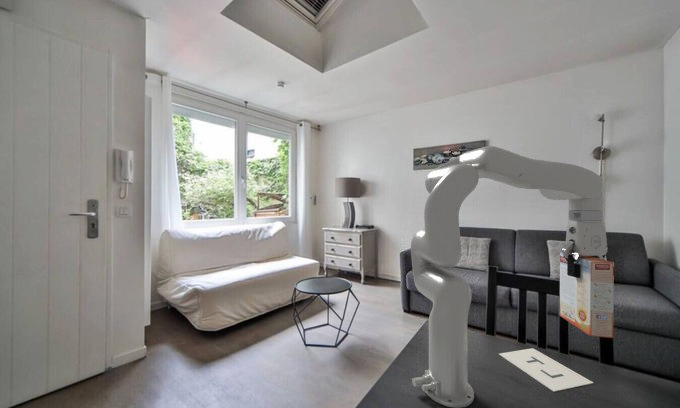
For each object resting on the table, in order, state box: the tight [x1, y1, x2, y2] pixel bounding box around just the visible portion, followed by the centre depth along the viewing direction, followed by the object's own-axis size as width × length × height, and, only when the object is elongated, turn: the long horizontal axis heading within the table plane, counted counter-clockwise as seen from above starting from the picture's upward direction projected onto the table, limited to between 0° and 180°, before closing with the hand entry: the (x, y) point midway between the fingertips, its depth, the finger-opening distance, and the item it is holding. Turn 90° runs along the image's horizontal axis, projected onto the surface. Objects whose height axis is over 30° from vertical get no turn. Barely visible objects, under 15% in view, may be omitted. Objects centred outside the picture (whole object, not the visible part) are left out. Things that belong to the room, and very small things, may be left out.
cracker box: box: [559, 252, 615, 339], centre depth 80 cm, size 14×6×21 cm, turn 169°
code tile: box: [498, 347, 594, 392], centre depth 81 cm, size 14×18×1 cm
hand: (584, 275), depth 80 cm, fingers closed on cracker box, 8 cm apart
